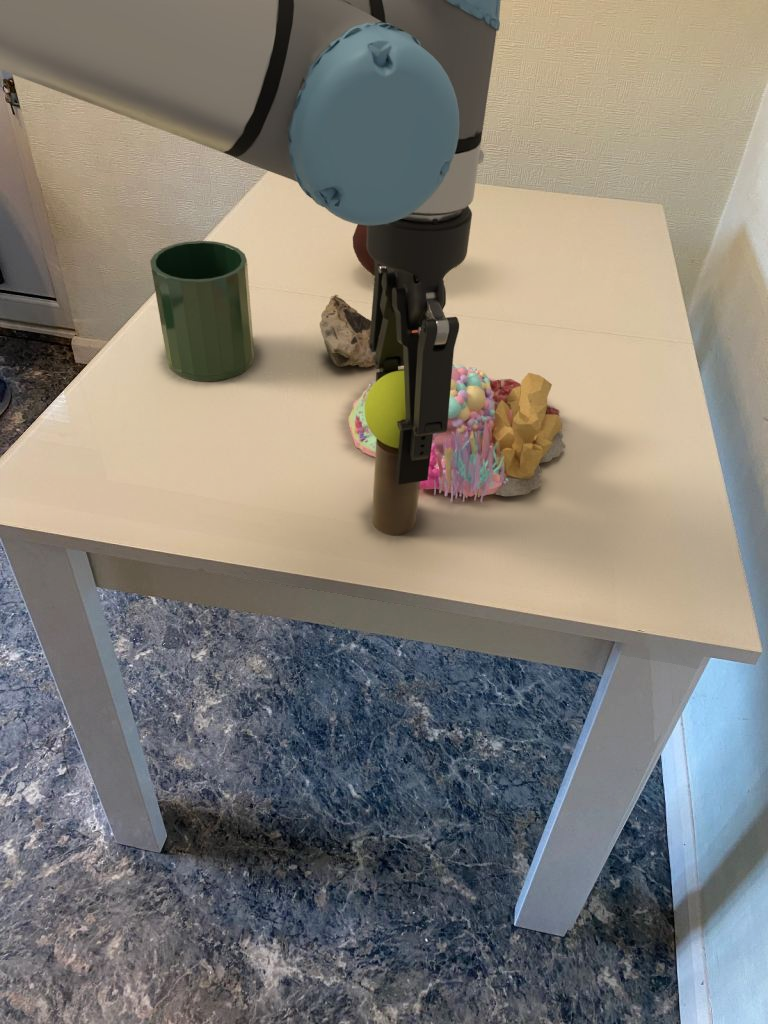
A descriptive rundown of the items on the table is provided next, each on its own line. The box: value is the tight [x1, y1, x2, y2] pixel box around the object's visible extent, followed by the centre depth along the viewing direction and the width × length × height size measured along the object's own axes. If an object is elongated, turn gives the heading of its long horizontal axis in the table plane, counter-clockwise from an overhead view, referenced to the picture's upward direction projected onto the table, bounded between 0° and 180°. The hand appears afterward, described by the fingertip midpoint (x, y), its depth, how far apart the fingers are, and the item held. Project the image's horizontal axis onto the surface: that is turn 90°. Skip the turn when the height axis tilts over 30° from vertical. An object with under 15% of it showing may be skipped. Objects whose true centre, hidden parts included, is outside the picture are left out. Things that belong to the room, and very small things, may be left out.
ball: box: [364, 371, 406, 448], centre depth 65 cm, size 7×7×7 cm
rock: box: [319, 294, 376, 368], centre depth 94 cm, size 9×7×10 cm
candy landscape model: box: [347, 330, 566, 503], centre depth 82 cm, size 25×24×9 cm
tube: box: [149, 240, 255, 382], centre depth 89 cm, size 11×11×13 cm
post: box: [371, 439, 420, 536], centre depth 70 cm, size 4×4×10 cm
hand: (399, 454), depth 68 cm, fingers closed on ball, 7 cm apart
